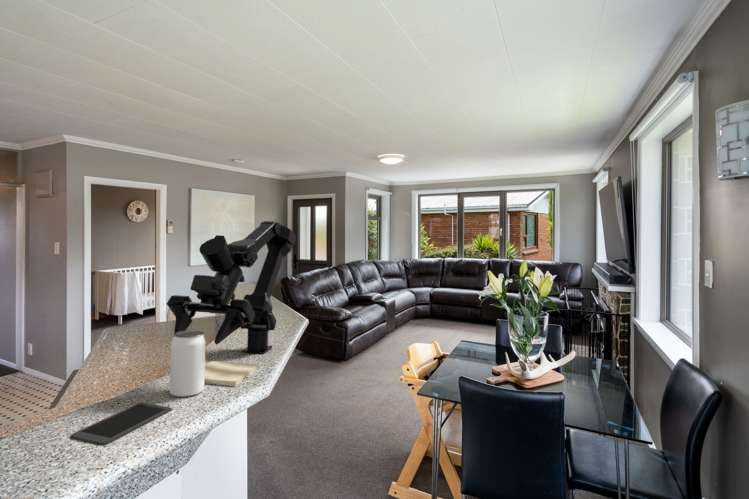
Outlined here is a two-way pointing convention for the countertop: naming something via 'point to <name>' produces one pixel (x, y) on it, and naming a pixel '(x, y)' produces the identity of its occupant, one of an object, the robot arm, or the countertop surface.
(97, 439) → the cell phone
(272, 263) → the robot arm
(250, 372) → the coaster
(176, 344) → the can
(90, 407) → the countertop surface
